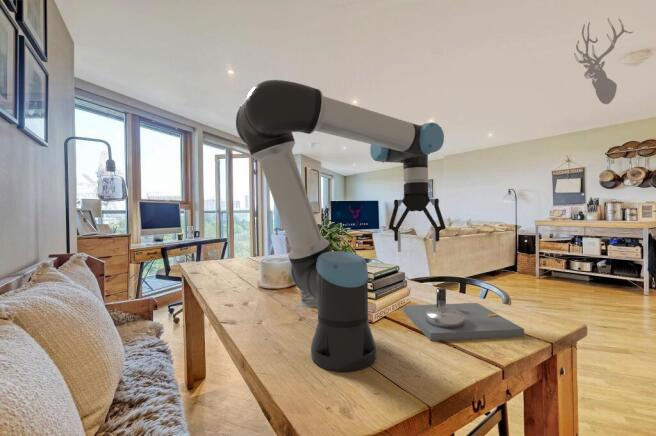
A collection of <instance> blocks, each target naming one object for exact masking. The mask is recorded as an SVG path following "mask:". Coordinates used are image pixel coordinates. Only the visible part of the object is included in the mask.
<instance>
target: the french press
mask: <svg viewBox="0 0 656 436" xmlns="http://www.w3.org/2000/svg"><path fill="white" fill-rule="evenodd" d="M297 304H298V306H300V307H303V308H316V307H317V308H318V300H317V299H315V298H314V297H312V296H311V295H309V294H307V293H305V292H303V291H302V290H300V300H299V302H298V303H297Z"/></svg>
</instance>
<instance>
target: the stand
mask: <svg viewBox="0 0 656 436" xmlns="http://www.w3.org/2000/svg"><path fill="white" fill-rule="evenodd" d="M446 305H447V308H452V309H456V310H459V311H461V312H462V313H464V326H463V327H460V328H454V329H449V328H441V327H436V326H433V325H431V324H429V323H428V322H427V321H426V310H427V309H429V308H434V307H437V303H435V304H417V305H416V304H413V305H411V304H409V305H402V306H403V307H402V308H403V309H402V310H403V314H404V315H406V316H407V317H408V318H409V319H410V320H411V321H412V323H413V324H414V325H415V326H416V327H417V329H419V330H420V332H422V333H423V335H425V336H426V338H427V339H428V340H429V341H430V342H435V341H436V342H437V341H456V340H457V341H458V340H459V341H460V340H477V339H496V338H497V339H500V338H518V337H519V338H521V337H525V329H524V328H523V327H522V326H520V325H518V324H516V323H514V322H512V321H510V320H509V319H507V318H505V317H503V316H502V315H499V314H498V313H497V312H494V311H492V310H491V309H489V308H488V307H485V306H483V305H482V304H479V303H478V302H468V303H467V302H464V303H463V302H462V303H446Z"/></svg>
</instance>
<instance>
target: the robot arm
mask: <svg viewBox="0 0 656 436" xmlns="http://www.w3.org/2000/svg"><path fill="white" fill-rule="evenodd" d="M235 129H236V133H237V135H238V137H239V138H240V140H241V141H242V142H243V143H244V144H246V146H247V148H248V151H249V154H250V156H251V158H253V159H254V160H256V161H258V162H259V163H260V166H261V169H262V172H263V174H264V178H265V180H266V182H267V185H268V188H269V191H270V193H271V196H272V199H273V202H274V204H275V207H276V209H277V212H278V215H279V218H280V221H281V223H282V226H283V228H284V231H285V235H286V238H287V240H288V243H289V246H290V250H289V252H288V255H287V256H288V257H287V258H288V259H289V262H290V276H291V280H292V281H293V283H294V284H295V286H296V287H297V288H298V289H299V290H300V291H301V290H302V291H303V292H305V293H307V294H309V295H311V296H312V297H314V298H315V299H317V300H318V307H317V324H316V328H315V331H314V335H313V338H312V341H311V345H310V356H311V360H312V361H313V362H314V363H315V364H316V365H317V366H319V367H320V368H323V369H327V370H329V371H336V372H353V371H358V370H363V369H366V368H367V367H369V366H371V365H372V364H373V363H375V361H376V358H377V345H376V342H375V338H374V336H373V334H372V330H371V327H370V324H369V292H368V291H369V286H368V284H369V280H368V279H369V272H368V262H367V261H366V259H365V258H364V257H363V256H361V255H359V254H357V253H354V252H346V251H340V250H337V251H336V250H335V251H334V250H333V248H332V246H331V243H330V241H329V240H327V239H326V238H325V237H323V236H322V234H321V232H320V228H319V226H318V223H317V221H316V217H315V214H314V211H313V209H312V206H311V203H310V199H309V197H308V194H307V191H306V187H305V185H304V182H303V179H302V176H301V174H300V171H299V167H298V164H297V162H296V159H295V156H294V153H293V149H294V147H295V144H296V141H295V140H296V139H295V138H294V134H293V133H304V134H308V135H312V134H313V133H314V132H319V133H322V134H323V133H324V134H328V135H332V136H335V137H339V138H344V139H347V140H348V139H349V140H351V141H356V142H362V143H365V144H368V145H370V147H369V150H370V151H369V153H370V156H371V159H372V160H373V161H375V162H380V163H393V164H394V163H397V164H399V163H400V164H402V165H403V170H402V171H403V182H404V184H403V197H402V199H394V200H393V209H392V214H391V216H390V220H389V224H388V229H389V230H391V231H393V233H394V234H393V235H394V239H393V240H394V242H397V252H399V253H401V251H402V239H401V235H402V234H401V230H399V229H400V228H401V226H402V224H403V222H404V221H405V219H406V217H407V216H408V214H409V212H416V211H417V212H423V213H424V215H425V216H426V218H427V219H428V221H429V222H430V224H431V226H432V227H433V229H434V230H432V253H436V252H437V250H436V249H437V248H436V247H437V244H436V243H437V242H439V241H440V232H441V231H443V230H445V229H446V225H445V221H444V219H443V215H442V213H441V209H440V207H439V206H440V205H439V204H440V202H439V201H440V199H439V198H430V196H429V183H428V182H427V181H429V161H428V160H429V157H428V156H429V155H430V154H433V153H436V152H438V151H440V150H441V149H442V147H443V145H444V141H445V133H444V131H443V129H442V127H441V126H440V125H439V124H438V123H437V122H436V123H435V122H428V123H423V124H422V125H420V124H417V123H413V122H409V121H406V120H402V119H399V118H396V117H393V116H390V115H386V114H384V113H379V112H377V111H373V110H370V109H367V108H363V107H360V106H357V105H353V104H350V103H347V102H344V101H341V100H337V99H335V98H330V97H327V96H325V95H324V94H323V92H322V91H321V90H320V89H318V88H315V87H312V86H309V85H307V84H301V83H298V82H294V81H290V80H289V81H288V80H281V79H269V80H264V81H261V82H259V83H257V84H256V85H254V86H253V87H252V88H251V89H250V91H249V92H248V94H247V96H246V98H245V99H244V101H243V102H242V103H241V105H240V106H239V108H238V110H237V113H236V117H235ZM429 203H431V206H434V207H433V208H434V211H435V213H436V216H437V220H438V223H439V226H438V225H437V223H436V222H435V220H434V218H433V217H432V215H431V213H430V211H429V210H428V208H427V206H428V205H429ZM402 204H403V205H404V206H405V209H404V212H403V213H402V215H401V216H400V218H399V220H398V222H397V224H396V225H394V224H395V221H396V218H397V213H398V211H399V207H400V206H401V205H402ZM305 293H304V294H305Z"/></svg>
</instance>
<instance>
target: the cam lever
mask: <svg viewBox="0 0 656 436" xmlns="http://www.w3.org/2000/svg"><path fill="white" fill-rule="evenodd" d="M436 304H437V307H434V308H429V309H427V310H426V321H427V322H428V323H429V324H431V325H433V326H436V327H441V328H449V329H454V328H460V327H463V326H464V313H462V312H461V311H459V310H456V309H452V308H447V305H446V304H447V289H446V288H444V287H437V288H436Z"/></svg>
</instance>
